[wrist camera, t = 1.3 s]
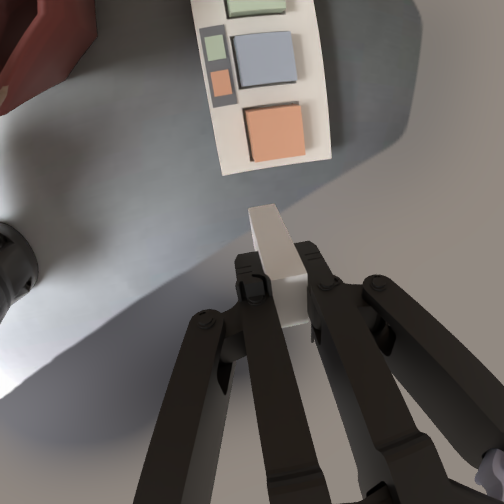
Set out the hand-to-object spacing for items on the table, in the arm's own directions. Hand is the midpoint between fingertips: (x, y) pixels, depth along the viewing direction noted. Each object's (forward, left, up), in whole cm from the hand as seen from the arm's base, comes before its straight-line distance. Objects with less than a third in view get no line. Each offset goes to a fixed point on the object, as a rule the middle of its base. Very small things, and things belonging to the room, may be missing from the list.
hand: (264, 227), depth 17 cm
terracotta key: (+5, +2, -21) cm, 21 cm away
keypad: (+5, +11, -24) cm, 27 cm away
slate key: (+5, +11, -20) cm, 24 cm away
